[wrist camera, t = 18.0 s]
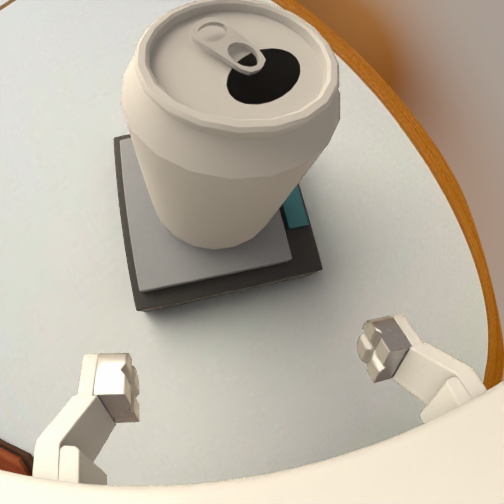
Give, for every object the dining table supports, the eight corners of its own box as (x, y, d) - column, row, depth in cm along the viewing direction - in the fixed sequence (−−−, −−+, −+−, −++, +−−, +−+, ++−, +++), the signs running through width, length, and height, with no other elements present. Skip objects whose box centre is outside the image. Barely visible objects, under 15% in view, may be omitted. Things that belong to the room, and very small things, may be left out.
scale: (269, 129, 25) (279, 105, 22) (310, 274, 23) (329, 267, 20) (119, 153, 23) (110, 129, 19) (142, 312, 21) (133, 310, 17)
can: (226, 278, 19) (277, 211, 7) (128, 202, 18) (62, 65, 7) (296, 185, 21) (392, 59, 9) (204, 121, 20) (222, -33, 9)
